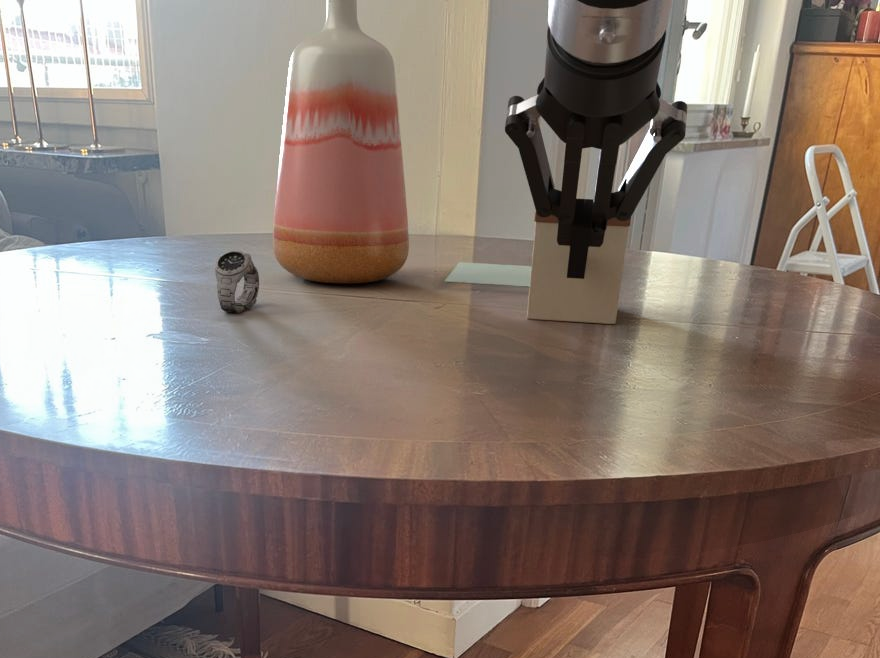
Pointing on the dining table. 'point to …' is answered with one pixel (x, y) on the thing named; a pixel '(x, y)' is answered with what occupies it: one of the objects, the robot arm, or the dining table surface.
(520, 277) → the mat
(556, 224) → the toy box
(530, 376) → the dining table surface
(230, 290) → the wristwatch
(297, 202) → the vase
